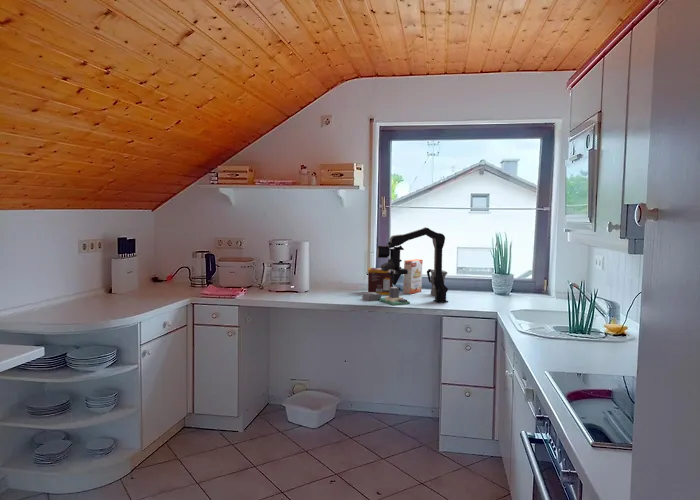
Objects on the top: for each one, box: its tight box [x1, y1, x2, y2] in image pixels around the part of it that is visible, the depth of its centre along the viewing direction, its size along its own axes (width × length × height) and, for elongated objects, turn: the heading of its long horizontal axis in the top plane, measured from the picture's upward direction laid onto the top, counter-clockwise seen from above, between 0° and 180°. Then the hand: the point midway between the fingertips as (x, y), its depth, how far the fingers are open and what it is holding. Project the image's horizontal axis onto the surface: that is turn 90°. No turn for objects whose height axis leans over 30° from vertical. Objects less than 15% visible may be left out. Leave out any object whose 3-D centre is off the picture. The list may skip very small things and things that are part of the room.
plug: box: [388, 286, 400, 298], centre depth 288 cm, size 4×5×7 cm
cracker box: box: [402, 258, 424, 295], centre depth 320 cm, size 14×6×21 cm, turn 143°
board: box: [378, 295, 411, 306], centre depth 288 cm, size 16×11×3 cm
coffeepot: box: [426, 268, 448, 297], centre depth 313 cm, size 15×9×18 cm, turn 44°
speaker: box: [361, 291, 382, 302], centre depth 295 cm, size 8×8×4 cm
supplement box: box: [367, 267, 394, 296], centre depth 316 cm, size 10×15×16 cm
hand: (394, 284), depth 288 cm, fingers closed
